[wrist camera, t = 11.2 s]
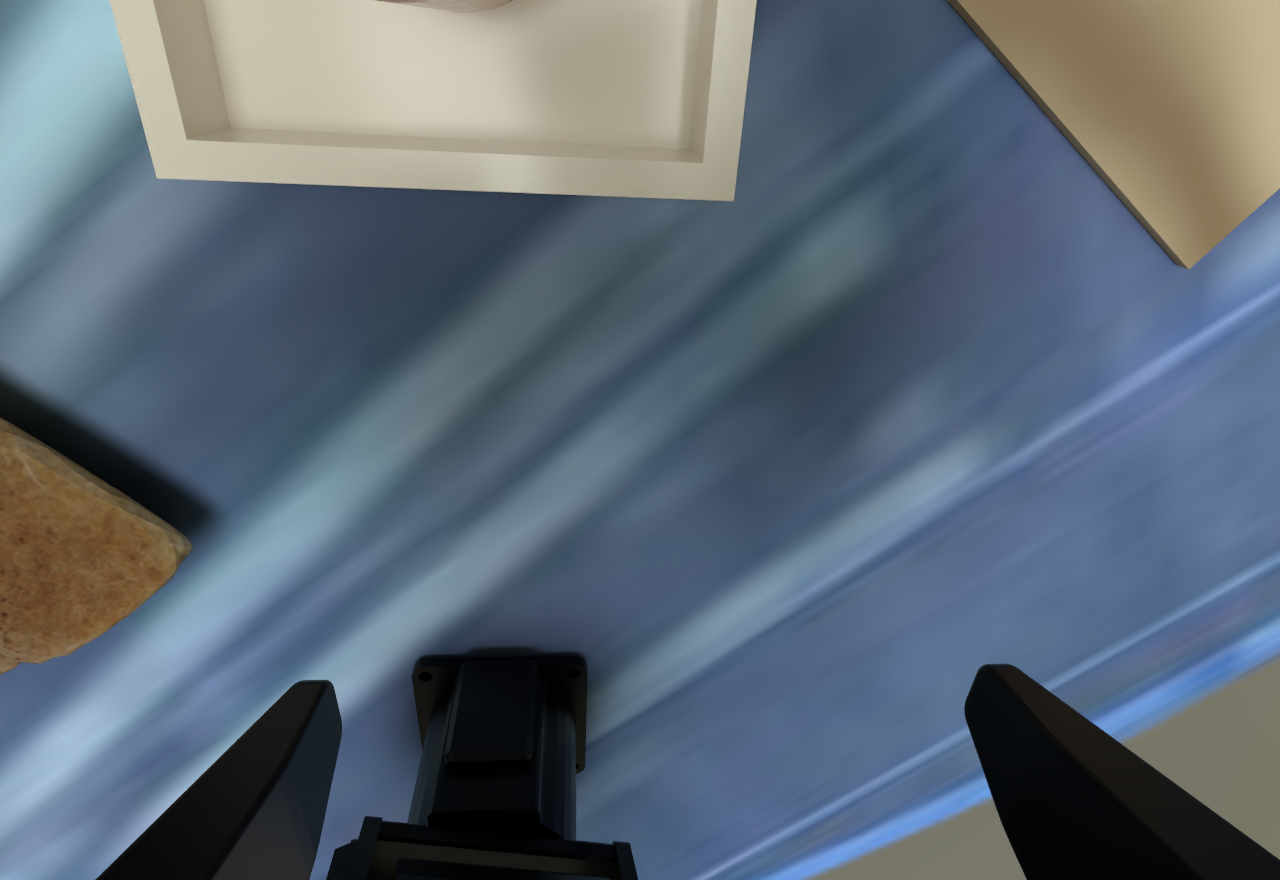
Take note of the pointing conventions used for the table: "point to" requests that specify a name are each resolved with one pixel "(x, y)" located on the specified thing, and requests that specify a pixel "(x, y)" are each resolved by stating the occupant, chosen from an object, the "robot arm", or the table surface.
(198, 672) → the table surface
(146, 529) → the brown flared stand
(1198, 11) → the beech board
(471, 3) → the terracotta jar
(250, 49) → the cream dish
